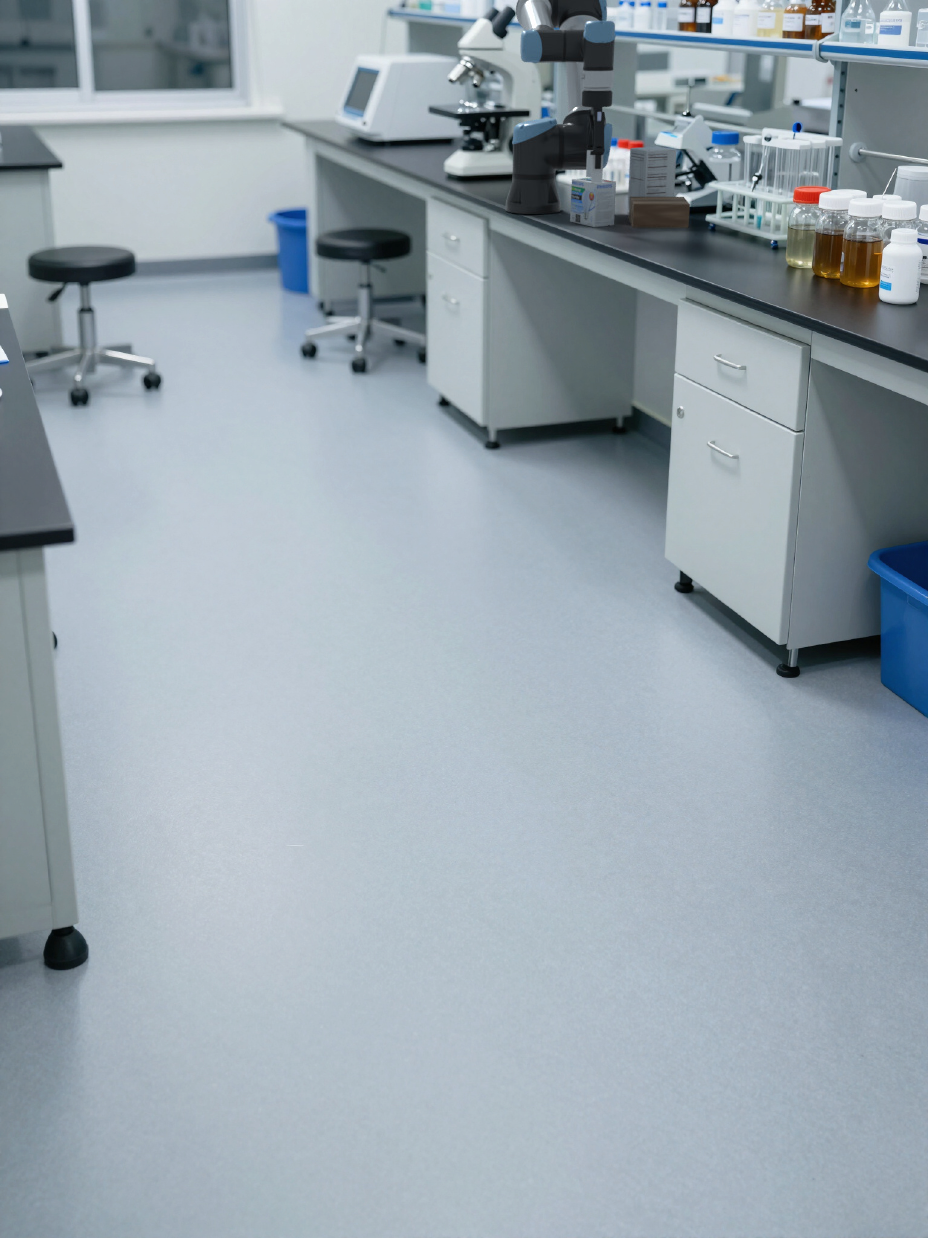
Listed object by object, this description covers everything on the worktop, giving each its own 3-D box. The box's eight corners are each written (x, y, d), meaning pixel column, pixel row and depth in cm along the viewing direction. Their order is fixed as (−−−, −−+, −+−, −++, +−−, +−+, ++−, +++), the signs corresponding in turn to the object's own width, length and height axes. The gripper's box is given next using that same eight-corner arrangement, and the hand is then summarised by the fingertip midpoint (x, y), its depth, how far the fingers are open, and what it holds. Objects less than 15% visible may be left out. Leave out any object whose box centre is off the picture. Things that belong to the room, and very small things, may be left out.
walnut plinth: (628, 220, 334) (629, 196, 331) (681, 220, 333) (683, 196, 331) (632, 228, 321) (634, 203, 319) (688, 228, 321) (689, 204, 318)
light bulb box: (569, 221, 330) (570, 178, 325) (589, 219, 333) (591, 176, 328) (594, 227, 322) (596, 182, 317) (615, 225, 325) (617, 180, 320)
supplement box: (673, 215, 338) (678, 148, 331) (643, 217, 335) (647, 150, 328) (656, 211, 346) (660, 145, 339) (626, 213, 343) (629, 146, 336)
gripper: (577, 87, 324) (575, 174, 333) (586, 91, 302) (583, 185, 311) (607, 87, 324) (603, 174, 333) (618, 91, 302) (614, 184, 311)
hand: (594, 179), depth 322 cm, fingers open, 13 cm apart
